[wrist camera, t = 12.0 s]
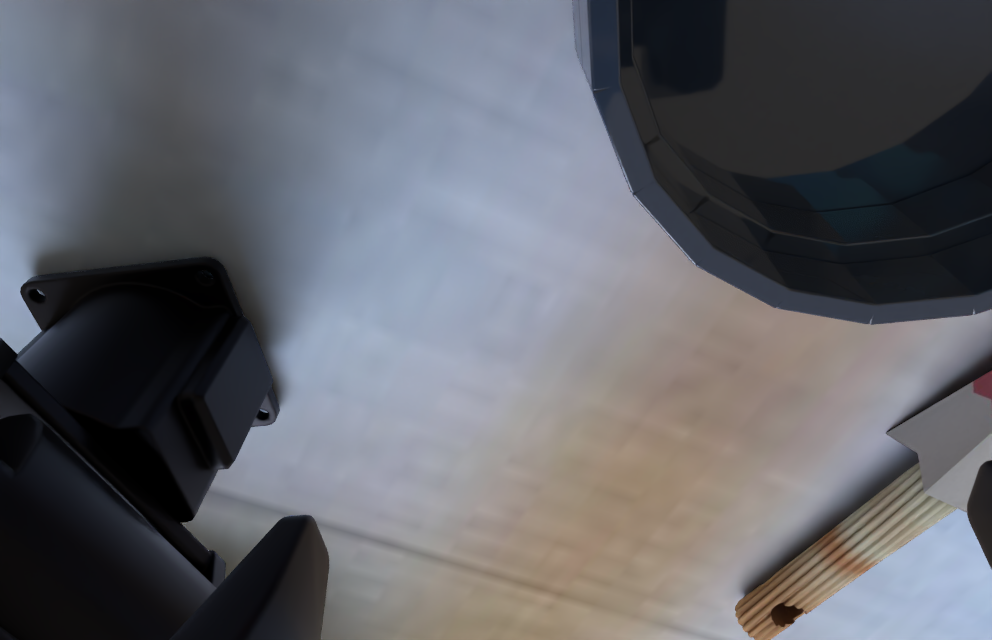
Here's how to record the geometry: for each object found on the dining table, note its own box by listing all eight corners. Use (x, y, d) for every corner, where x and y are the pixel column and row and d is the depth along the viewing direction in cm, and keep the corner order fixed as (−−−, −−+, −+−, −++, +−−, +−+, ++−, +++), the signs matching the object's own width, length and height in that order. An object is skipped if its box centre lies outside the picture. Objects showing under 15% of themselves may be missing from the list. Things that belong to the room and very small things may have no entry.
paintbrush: (1327, 327, 18) (795, 665, 28) (1236, 273, 20) (775, 604, 30) (1236, 266, 17) (721, 639, 27) (1152, 216, 19) (706, 578, 29)
